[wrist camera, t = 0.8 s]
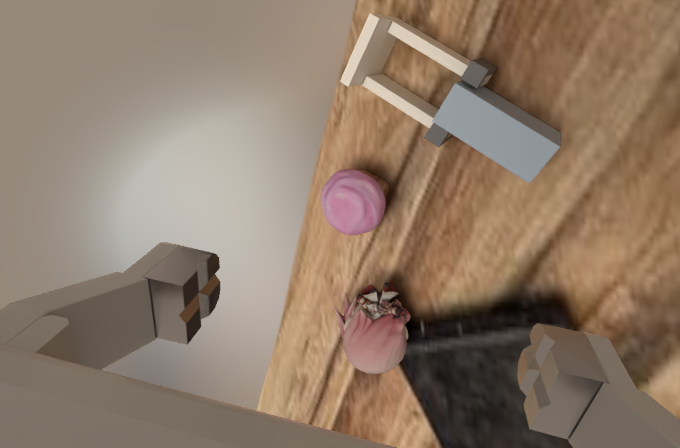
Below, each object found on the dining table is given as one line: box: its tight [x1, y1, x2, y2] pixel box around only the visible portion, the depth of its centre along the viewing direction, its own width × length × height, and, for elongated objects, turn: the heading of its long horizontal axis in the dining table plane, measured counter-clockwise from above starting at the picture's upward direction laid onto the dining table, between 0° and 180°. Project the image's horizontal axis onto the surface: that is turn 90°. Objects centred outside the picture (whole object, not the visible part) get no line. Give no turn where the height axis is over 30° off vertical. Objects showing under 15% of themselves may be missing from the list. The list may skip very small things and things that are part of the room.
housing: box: [340, 13, 497, 147], centre depth 47 cm, size 13×9×8 cm
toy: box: [334, 282, 411, 374], centre depth 62 cm, size 12×11×15 cm
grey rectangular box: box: [432, 80, 561, 183], centre depth 45 cm, size 12×4×8 cm, turn 64°
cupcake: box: [321, 169, 389, 235], centre depth 55 cm, size 9×9×10 cm
